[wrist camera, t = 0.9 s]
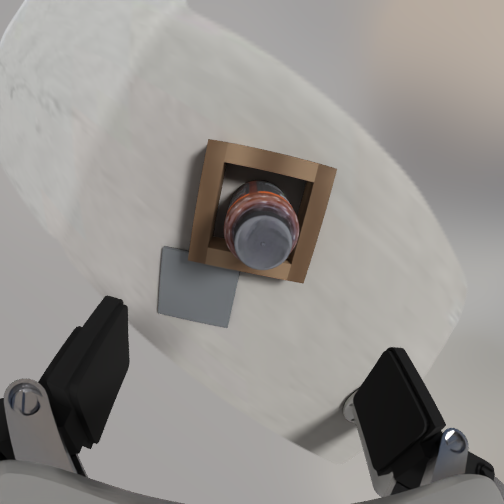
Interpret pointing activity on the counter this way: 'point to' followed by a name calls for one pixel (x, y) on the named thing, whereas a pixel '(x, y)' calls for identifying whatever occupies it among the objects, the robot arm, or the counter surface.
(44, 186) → the counter surface
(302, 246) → the pocket frame
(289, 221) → the supplement bottle
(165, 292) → the slate coaster
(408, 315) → the counter surface
